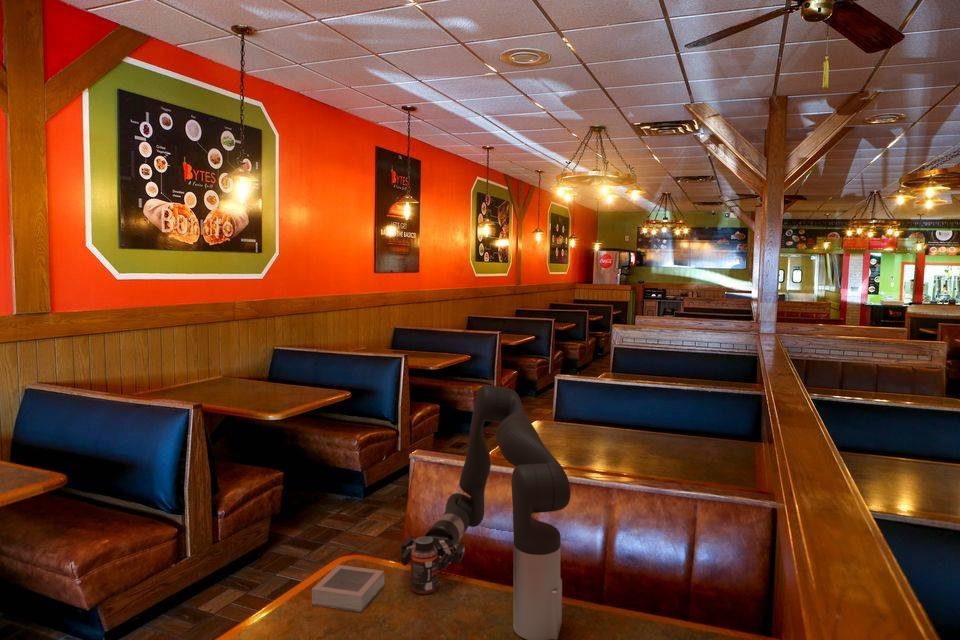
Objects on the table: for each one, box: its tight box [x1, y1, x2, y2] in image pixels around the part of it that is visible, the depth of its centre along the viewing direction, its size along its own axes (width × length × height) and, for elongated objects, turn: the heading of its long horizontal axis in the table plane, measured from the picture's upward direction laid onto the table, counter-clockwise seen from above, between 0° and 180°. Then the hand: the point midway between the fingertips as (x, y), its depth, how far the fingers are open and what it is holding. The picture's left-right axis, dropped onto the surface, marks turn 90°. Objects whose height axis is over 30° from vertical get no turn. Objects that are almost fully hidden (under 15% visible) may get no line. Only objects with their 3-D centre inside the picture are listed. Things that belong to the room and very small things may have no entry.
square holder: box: [311, 564, 385, 613], centre depth 139 cm, size 12×12×4 cm
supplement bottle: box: [410, 535, 439, 595], centre depth 142 cm, size 6×6×11 cm
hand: (421, 563), depth 140 cm, fingers open, 8 cm apart
